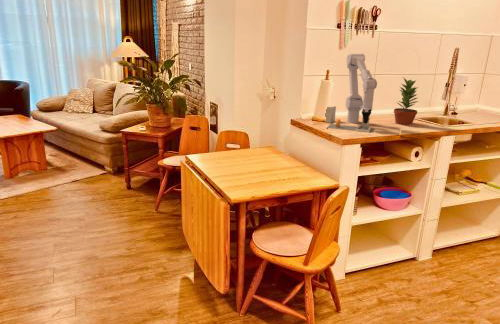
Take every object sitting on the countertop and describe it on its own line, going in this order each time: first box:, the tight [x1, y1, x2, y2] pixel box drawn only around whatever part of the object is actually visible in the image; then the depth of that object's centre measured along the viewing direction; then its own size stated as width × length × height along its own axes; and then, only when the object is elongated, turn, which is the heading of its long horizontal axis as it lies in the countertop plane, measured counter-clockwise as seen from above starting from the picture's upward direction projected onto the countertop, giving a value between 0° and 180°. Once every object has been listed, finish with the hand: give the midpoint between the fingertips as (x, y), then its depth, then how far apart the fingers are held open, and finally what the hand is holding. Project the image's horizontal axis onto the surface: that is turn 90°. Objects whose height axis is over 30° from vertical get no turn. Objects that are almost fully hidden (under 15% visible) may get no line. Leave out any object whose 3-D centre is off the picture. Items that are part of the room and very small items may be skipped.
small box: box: [324, 104, 337, 124], centre depth 255 cm, size 8×6×10 cm
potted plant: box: [393, 77, 420, 126], centre depth 252 cm, size 15×15×30 cm
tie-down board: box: [326, 123, 376, 133], centre depth 235 cm, size 12×27×1 cm, turn 67°
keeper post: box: [335, 118, 341, 127], centre depth 237 cm, size 2×2×4 cm
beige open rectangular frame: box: [354, 117, 373, 133], centre depth 231 cm, size 13×8×6 cm, turn 157°
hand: (365, 122), depth 235 cm, fingers open, 7 cm apart
